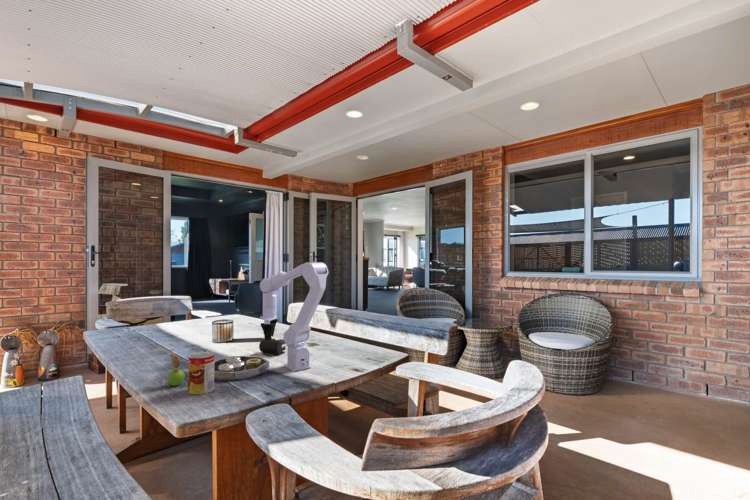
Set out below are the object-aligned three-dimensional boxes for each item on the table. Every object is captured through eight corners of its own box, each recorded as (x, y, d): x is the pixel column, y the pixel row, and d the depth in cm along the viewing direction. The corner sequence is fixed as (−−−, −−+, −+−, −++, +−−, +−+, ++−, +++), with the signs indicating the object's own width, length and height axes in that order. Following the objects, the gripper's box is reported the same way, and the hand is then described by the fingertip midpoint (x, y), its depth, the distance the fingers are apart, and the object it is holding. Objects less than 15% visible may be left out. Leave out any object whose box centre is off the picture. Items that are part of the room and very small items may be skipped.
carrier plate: (275, 373, 140) (276, 361, 140) (215, 385, 126) (215, 372, 126) (255, 360, 157) (255, 350, 157) (200, 369, 143) (200, 358, 144)
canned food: (196, 385, 126) (196, 351, 126) (218, 386, 125) (218, 351, 125) (182, 394, 118) (183, 357, 118) (206, 395, 117) (206, 357, 118)
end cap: (258, 354, 166) (258, 339, 166) (268, 351, 173) (268, 336, 173) (277, 356, 163) (277, 341, 163) (286, 353, 169) (286, 338, 169)
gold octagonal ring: (263, 367, 143) (263, 360, 143) (251, 371, 139) (251, 363, 139) (255, 365, 146) (255, 357, 146) (243, 368, 142) (243, 360, 142)
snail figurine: (179, 380, 131) (179, 347, 131) (187, 384, 127) (187, 350, 127) (163, 385, 126) (163, 350, 127) (170, 389, 122) (171, 353, 123)
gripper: (262, 304, 163) (262, 334, 162) (256, 308, 148) (256, 342, 148) (279, 304, 164) (278, 334, 163) (274, 308, 149) (274, 341, 149)
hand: (269, 338), depth 156 cm, fingers open, 7 cm apart
